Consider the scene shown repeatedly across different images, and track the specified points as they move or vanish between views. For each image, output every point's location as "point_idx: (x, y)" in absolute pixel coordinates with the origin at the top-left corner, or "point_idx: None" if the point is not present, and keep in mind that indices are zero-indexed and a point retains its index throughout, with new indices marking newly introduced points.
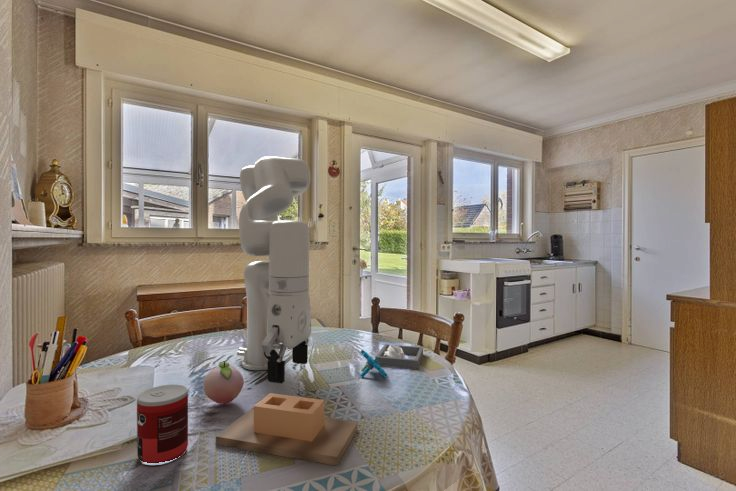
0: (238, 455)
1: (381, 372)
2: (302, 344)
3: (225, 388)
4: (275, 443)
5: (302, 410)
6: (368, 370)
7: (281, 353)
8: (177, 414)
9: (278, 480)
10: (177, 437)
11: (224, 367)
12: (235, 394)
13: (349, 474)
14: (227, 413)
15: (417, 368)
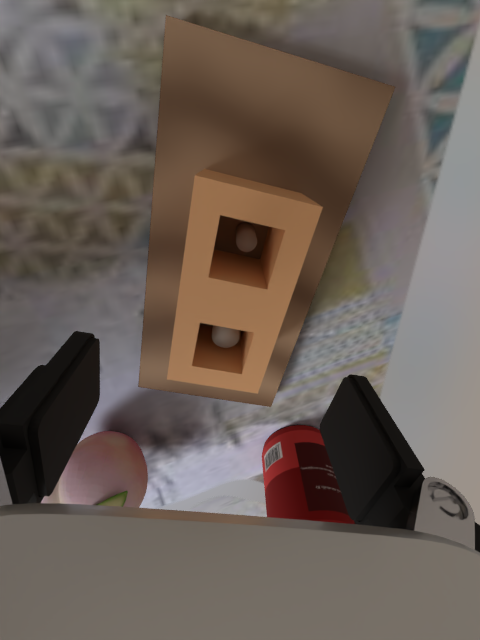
0: (308, 347)
1: None
2: (24, 456)
3: (134, 472)
4: (304, 289)
5: (289, 250)
6: None
7: (473, 545)
8: (339, 505)
9: (407, 245)
10: (325, 459)
11: None
12: (120, 440)
13: (431, 38)
14: (151, 418)
15: None
